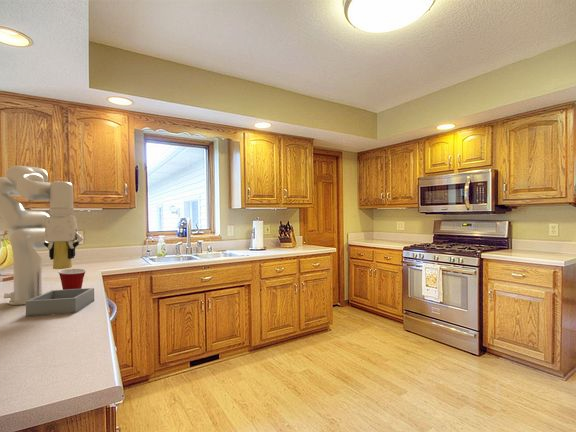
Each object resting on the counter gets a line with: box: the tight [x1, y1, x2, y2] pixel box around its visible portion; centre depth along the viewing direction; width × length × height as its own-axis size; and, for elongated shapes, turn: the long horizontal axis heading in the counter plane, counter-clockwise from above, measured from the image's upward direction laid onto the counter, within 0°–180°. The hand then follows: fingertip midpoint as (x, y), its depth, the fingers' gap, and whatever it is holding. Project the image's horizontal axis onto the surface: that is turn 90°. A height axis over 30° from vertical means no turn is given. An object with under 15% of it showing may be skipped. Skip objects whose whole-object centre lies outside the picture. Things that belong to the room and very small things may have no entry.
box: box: [25, 287, 95, 317], centre depth 124 cm, size 16×18×6 cm
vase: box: [52, 241, 73, 270], centre depth 124 cm, size 6×6×14 cm
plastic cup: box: [57, 268, 87, 290], centre depth 143 cm, size 11×11×12 cm
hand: (62, 258), depth 124 cm, fingers closed on vase, 5 cm apart
